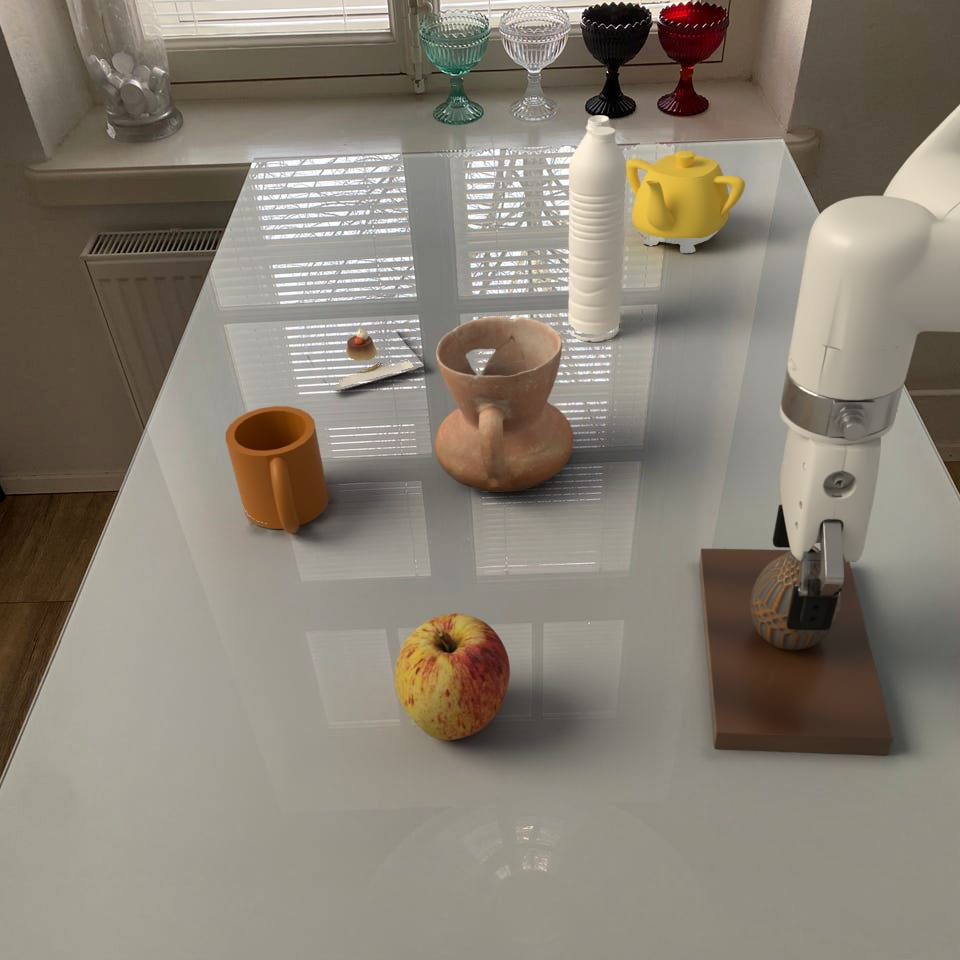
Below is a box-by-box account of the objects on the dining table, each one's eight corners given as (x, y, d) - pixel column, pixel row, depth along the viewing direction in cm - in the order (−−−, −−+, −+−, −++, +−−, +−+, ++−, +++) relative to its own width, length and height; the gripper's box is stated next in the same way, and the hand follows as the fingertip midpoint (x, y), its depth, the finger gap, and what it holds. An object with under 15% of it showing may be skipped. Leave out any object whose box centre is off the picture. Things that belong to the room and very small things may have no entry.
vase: (846, 629, 83) (869, 548, 76) (803, 676, 79) (823, 595, 73) (773, 594, 86) (789, 514, 80) (729, 637, 83) (742, 557, 77)
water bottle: (565, 320, 128) (565, 110, 110) (616, 316, 128) (624, 105, 110) (573, 353, 121) (574, 136, 104) (626, 349, 121) (636, 132, 104)
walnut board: (698, 564, 93) (700, 548, 91) (842, 567, 91) (847, 550, 90) (714, 749, 77) (716, 732, 76) (887, 755, 76) (893, 739, 74)
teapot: (613, 228, 147) (615, 143, 138) (705, 214, 148) (713, 130, 140) (643, 267, 137) (647, 178, 129) (741, 252, 138) (752, 163, 130)
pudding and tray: (332, 400, 117) (325, 363, 114) (303, 356, 125) (296, 320, 122) (426, 373, 120) (422, 337, 117) (391, 332, 128) (387, 297, 125)
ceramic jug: (454, 419, 113) (443, 301, 103) (581, 425, 110) (582, 304, 100) (419, 517, 100) (403, 393, 90) (562, 525, 98) (561, 399, 88)
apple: (502, 769, 77) (495, 682, 70) (390, 757, 79) (372, 671, 71) (519, 683, 83) (515, 596, 76) (415, 674, 85) (401, 587, 78)
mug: (235, 553, 98) (212, 478, 92) (250, 481, 107) (230, 408, 100) (325, 546, 98) (308, 471, 92) (333, 475, 106) (318, 402, 100)
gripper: (925, 471, 60) (867, 664, 72) (875, 332, 72) (832, 517, 84) (798, 470, 61) (761, 662, 73) (769, 333, 73) (742, 516, 85)
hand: (799, 584), depth 79 cm, fingers open, 9 cm apart
